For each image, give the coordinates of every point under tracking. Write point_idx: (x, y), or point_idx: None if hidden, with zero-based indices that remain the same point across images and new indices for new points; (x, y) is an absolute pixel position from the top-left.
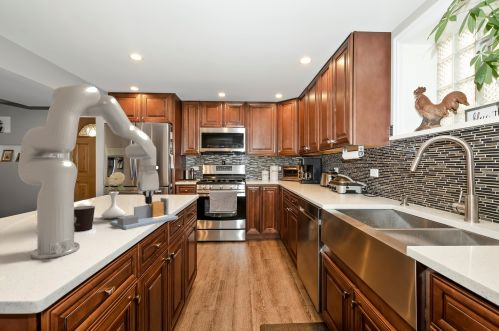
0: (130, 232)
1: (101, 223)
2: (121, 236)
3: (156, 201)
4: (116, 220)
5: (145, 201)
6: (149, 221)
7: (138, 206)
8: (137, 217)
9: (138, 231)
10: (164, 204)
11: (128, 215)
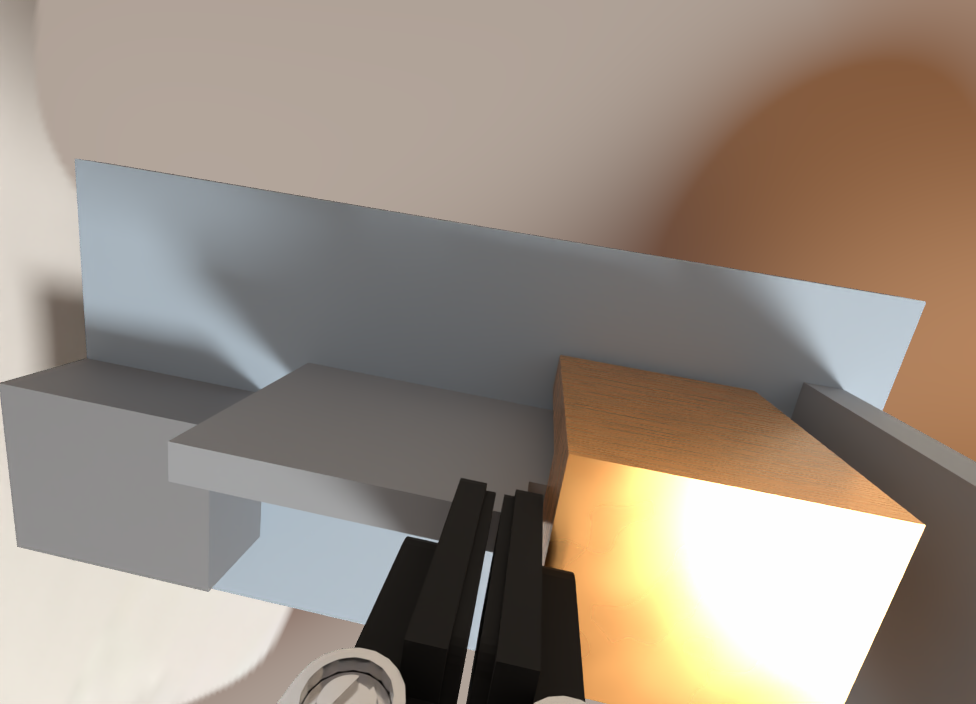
0: (116, 642)
1: (26, 10)
2: (29, 663)
3: (814, 543)
4: (139, 175)
5: (400, 562)
6: (371, 597)
7: (253, 480)
8: (204, 582)
9: (173, 675)
10: (876, 633)
11: (151, 414)
